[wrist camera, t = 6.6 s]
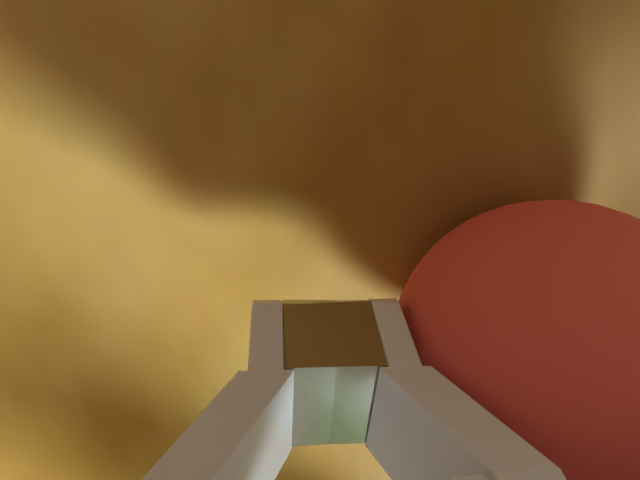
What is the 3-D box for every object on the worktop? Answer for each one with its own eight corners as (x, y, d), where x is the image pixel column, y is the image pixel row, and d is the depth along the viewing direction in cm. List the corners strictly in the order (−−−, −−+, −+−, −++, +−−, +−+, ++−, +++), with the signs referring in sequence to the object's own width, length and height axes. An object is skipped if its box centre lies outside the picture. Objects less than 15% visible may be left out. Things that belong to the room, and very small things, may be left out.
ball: (420, 130, 9) (727, 162, 8) (389, 319, 13) (606, 355, 12) (400, 344, 5) (1023, 453, 4) (362, 541, 8) (698, 623, 7)
